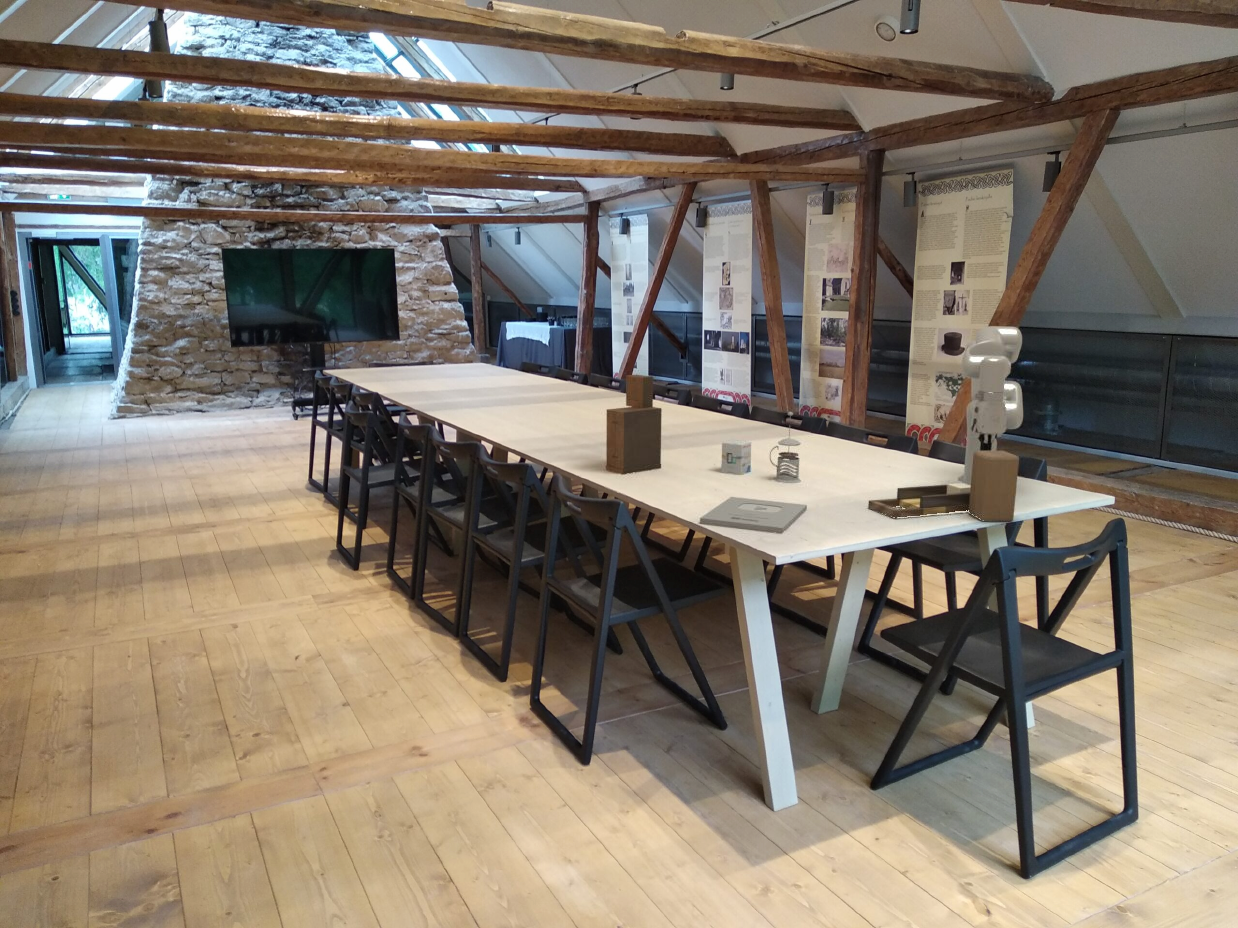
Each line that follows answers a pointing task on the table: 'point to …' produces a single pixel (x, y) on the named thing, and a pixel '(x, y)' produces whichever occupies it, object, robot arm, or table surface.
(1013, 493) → the block
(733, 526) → the award plaque
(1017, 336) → the robot arm
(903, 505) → the tunnel deck
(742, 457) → the ink box
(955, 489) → the cream block
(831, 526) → the table surface
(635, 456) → the stacked wooden blocks
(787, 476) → the french press
